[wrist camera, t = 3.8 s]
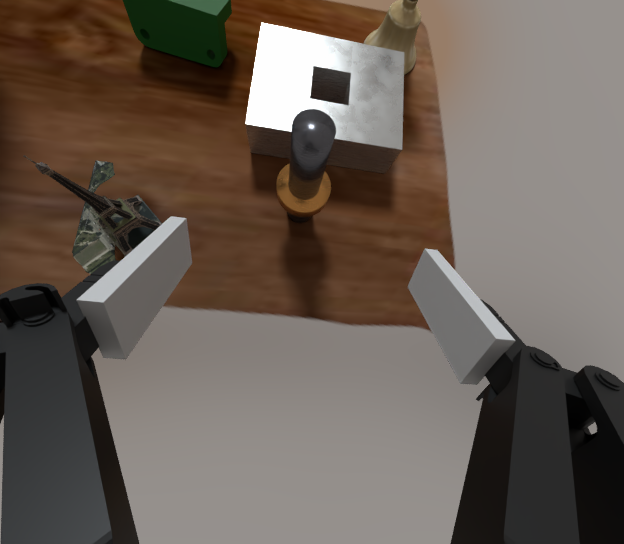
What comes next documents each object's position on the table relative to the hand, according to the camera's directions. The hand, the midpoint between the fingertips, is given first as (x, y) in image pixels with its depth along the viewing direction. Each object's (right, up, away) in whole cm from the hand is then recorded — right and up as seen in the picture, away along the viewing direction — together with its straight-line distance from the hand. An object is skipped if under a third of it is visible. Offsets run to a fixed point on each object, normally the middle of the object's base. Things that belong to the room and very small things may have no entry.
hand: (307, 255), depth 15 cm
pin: (-1, +7, +18) cm, 19 cm away
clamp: (-16, +31, +21) cm, 40 cm away
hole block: (+2, +20, +21) cm, 29 cm away
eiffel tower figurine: (-21, +5, +16) cm, 27 cm away
